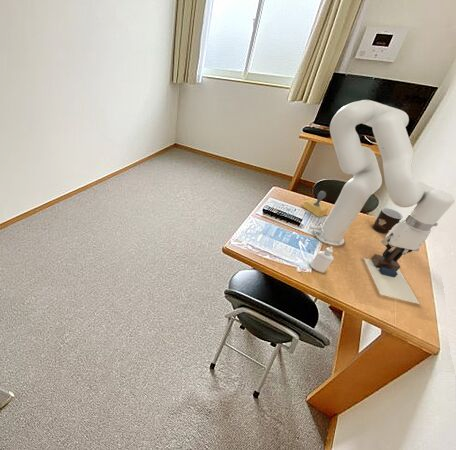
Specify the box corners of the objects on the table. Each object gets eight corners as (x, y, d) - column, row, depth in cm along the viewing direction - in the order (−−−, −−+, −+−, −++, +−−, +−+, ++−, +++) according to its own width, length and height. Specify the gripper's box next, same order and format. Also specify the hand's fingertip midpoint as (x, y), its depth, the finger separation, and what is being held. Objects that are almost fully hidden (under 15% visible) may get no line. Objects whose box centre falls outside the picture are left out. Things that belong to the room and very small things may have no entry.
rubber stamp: (302, 206, 147) (311, 187, 139) (309, 204, 149) (319, 185, 142) (318, 217, 140) (329, 197, 132) (325, 214, 142) (336, 195, 135)
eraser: (381, 274, 109) (383, 271, 108) (378, 270, 111) (381, 266, 110) (394, 277, 108) (397, 274, 107) (392, 273, 110) (395, 269, 109)
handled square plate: (375, 266, 112) (389, 249, 106) (370, 258, 116) (384, 241, 110) (396, 271, 110) (412, 254, 104) (391, 263, 114) (406, 246, 108)
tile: (379, 296, 101) (380, 294, 101) (362, 259, 117) (363, 258, 116) (418, 305, 99) (420, 304, 98) (395, 267, 114) (397, 265, 114)
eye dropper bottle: (319, 274, 107) (333, 253, 100) (308, 264, 111) (321, 243, 104) (327, 272, 109) (342, 250, 101) (315, 262, 113) (329, 241, 105)
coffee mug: (366, 223, 139) (377, 207, 133) (382, 224, 139) (395, 208, 133) (380, 238, 130) (393, 221, 124) (397, 239, 130) (411, 223, 124)
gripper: (438, 221, 101) (406, 256, 112) (390, 212, 104) (364, 247, 115) (450, 233, 95) (415, 269, 106) (398, 223, 98) (370, 259, 109)
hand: (389, 258), depth 111 cm, fingers closed on handled square plate, 2 cm apart
